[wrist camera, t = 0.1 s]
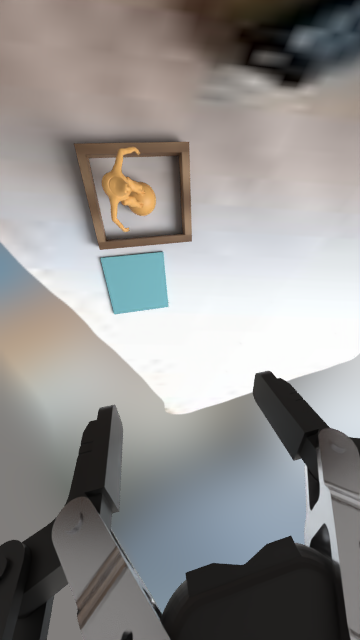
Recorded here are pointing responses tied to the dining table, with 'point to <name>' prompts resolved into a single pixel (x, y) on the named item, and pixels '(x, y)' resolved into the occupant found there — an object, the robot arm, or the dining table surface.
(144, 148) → the brown wooden frame
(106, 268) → the teal pad
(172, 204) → the dining table surface
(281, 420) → the robot arm
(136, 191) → the figurine
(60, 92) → the dining table surface
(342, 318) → the dining table surface
